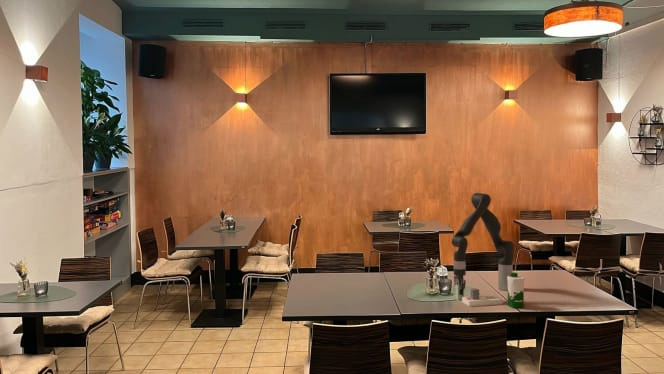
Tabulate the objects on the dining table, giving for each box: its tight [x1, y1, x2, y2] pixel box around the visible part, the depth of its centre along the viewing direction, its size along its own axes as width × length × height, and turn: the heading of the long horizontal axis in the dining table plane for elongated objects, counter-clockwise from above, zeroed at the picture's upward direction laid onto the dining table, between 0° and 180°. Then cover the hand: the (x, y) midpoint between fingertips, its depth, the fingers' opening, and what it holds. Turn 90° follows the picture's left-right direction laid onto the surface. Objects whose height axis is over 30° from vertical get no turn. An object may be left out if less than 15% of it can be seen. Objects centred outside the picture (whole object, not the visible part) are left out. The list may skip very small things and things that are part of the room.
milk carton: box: [507, 272, 525, 309], centre depth 340 cm, size 9×9×20 cm
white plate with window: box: [461, 287, 504, 307], centre depth 350 cm, size 22×11×9 cm, turn 99°
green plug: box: [455, 285, 465, 301], centre depth 360 cm, size 4×4×9 cm
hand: (459, 293), depth 360 cm, fingers open, 5 cm apart
